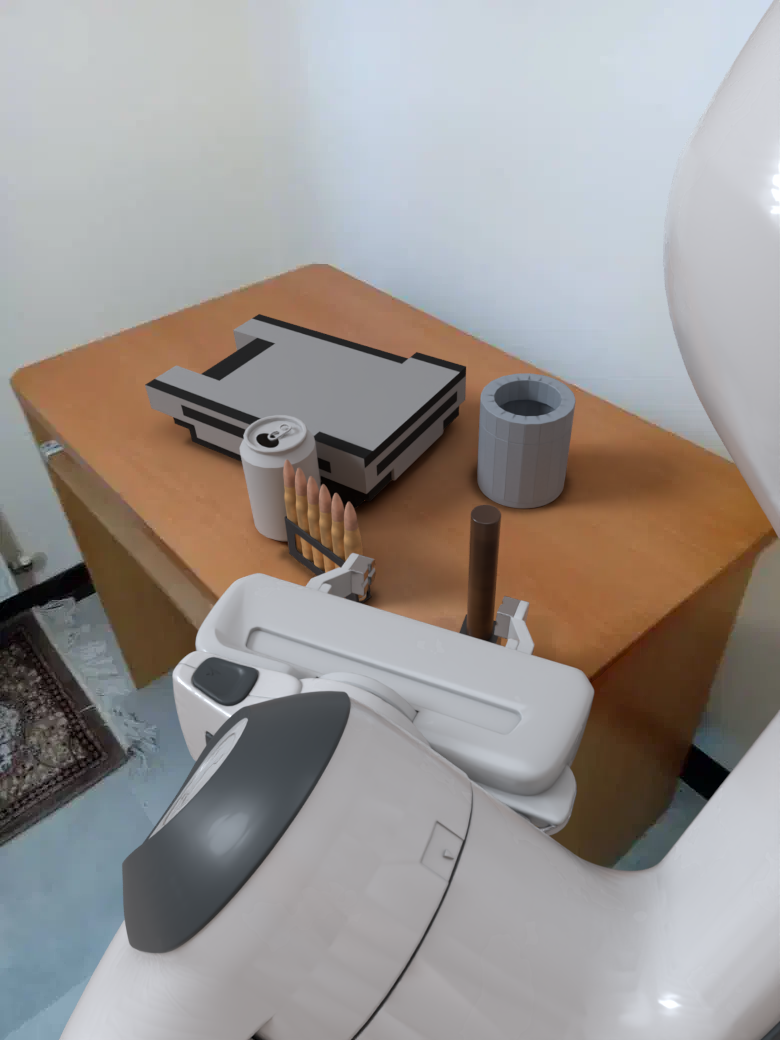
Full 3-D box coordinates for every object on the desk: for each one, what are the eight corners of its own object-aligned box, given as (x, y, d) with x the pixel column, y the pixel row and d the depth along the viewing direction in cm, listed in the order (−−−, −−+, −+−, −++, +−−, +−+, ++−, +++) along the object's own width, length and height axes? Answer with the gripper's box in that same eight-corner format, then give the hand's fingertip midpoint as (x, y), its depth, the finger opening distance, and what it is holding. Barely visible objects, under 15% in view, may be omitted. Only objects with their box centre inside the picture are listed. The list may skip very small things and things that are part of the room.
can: (241, 521, 85) (222, 429, 77) (298, 491, 89) (285, 401, 81) (280, 557, 81) (264, 463, 73) (339, 524, 84) (328, 431, 76)
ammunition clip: (371, 597, 76) (364, 501, 68) (357, 607, 75) (348, 512, 67) (302, 544, 82) (288, 451, 74) (288, 553, 81) (272, 459, 73)
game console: (266, 359, 111) (257, 305, 106) (464, 425, 97) (466, 366, 92) (158, 433, 99) (142, 375, 93) (368, 520, 85) (363, 458, 79)
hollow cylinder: (570, 463, 91) (582, 380, 84) (555, 515, 84) (566, 430, 77) (488, 449, 93) (493, 367, 86) (467, 499, 87) (470, 415, 79)
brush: (499, 659, 70) (512, 504, 58) (491, 688, 68) (502, 532, 56) (464, 651, 71) (470, 496, 59) (455, 678, 68) (458, 523, 57)
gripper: (572, 813, 31) (628, 593, 41) (142, 660, 37) (283, 501, 47) (550, 893, 35) (606, 674, 45) (163, 743, 41) (289, 579, 51)
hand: (438, 584), depth 46 cm, fingers open, 8 cm apart
